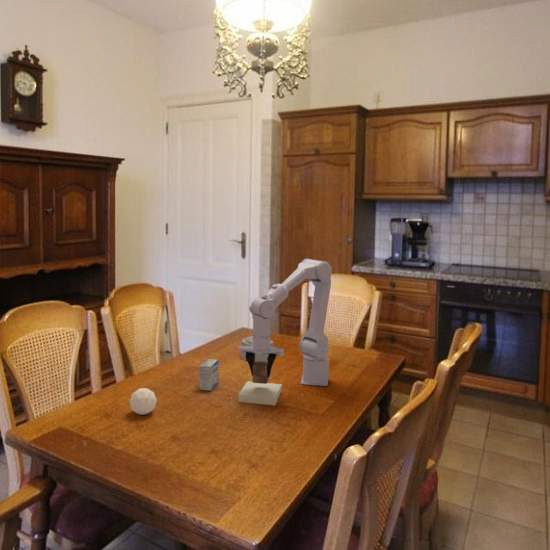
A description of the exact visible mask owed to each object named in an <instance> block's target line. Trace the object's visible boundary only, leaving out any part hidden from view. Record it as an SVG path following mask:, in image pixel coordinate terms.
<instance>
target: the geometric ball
mask: <svg viewBox="0 0 550 550" xmlns="http://www.w3.org/2000/svg"><path fill="white" fill-rule="evenodd" d="M157 401H158V399H157V397H156V393H155V392H154V391H152V390H150V389H149V388H148V387H147V388H145V387H141V388H138V389H136V391H134V392H133V393H131V396H130V399H129V405H130V409H131V410H132V411H133V412H134V413H136V414H138V415H142V416H143V415H148V414H149V413H150V412H152V411H153V410H154V409H155V408H156V404H157Z"/></svg>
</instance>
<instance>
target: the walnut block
mask: <svg viewBox="0 0 550 550" xmlns="http://www.w3.org/2000/svg"><path fill="white" fill-rule="evenodd" d="M267 370H268V361H255V363H254V364H253V376H252V382H253V383H262V384H267V383H269V380H270V379H269V378H270V377H267Z"/></svg>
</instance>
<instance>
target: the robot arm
mask: <svg viewBox="0 0 550 550" xmlns="http://www.w3.org/2000/svg"><path fill="white" fill-rule="evenodd" d="M297 265H298V266H297V268H296V269H295V270H294V271H293V272H292V273H291V274H290V275H289V276H288V277H287V278H286V279H285V280H284V281H283V282H282V283H275V284H272V286H271V287H270V289H269V290H267V291H266V292H265V293H263V294H261V297H256V298H255V299H253V301H251V303H250V306H249V312H250V313H251V315H252V316H251V319H252V336H253V346H242V345H240V346H239V347H238V353H239V354H241V353H246V356H245V357H246V360H247V361H246V360H245V361H246V362H247V363H248V367H249V369H250V373H251V376H252V377H253V364H254V363H255V354H268V355H269V356H268V357H267V360H268V370H267V377H269V378H270V376H271V374H272V373H271V371H272V368H273V365H274V362H275V360H276V358H277V356H280V357H284V354H285V349H284V348H279V347H275V346H273V347H270V340H271V328H272V327H271V326H272V324H271V322H272V321H271V319H272V316H273V315H274V314H275V312H276V310H277V307H278V306H279V305H280V304H282V303H283V302H284V301H285V300H286V299H287V298H288V297H289V292H290V291H292V290H293V289H294V288H295V287H297V286H298V285H300V283H302V282H304V281H305V280H309V281H311V283H312V284H313V286H314V290H313V297H312V298H313V299H312V304H311V311H310V317H309V324H308V329H307V330H306V331H304V332H303V333H302V338H301V340H300V341H299V346H298V348H299V351H300V353H301V354H302V357H303V360H302V363H303V364H302V376H301V380H300V384H301V385H306V386H307V385H309V386H321V387H324V386H325V387H328V385H329V380H330V371H329V370H330V359H329V358H327V356H328V354H329V351H330V347H329V338H328V337H327V335H326V334H325V324H326V318H327V313H328V307H329V306H328V305H329V299H330V294H331V293H330V292H331V286H332V279H331V278H332V273H333V268H332V266H331V265H330V263H328V261H325V260H317V259H310V258H304V259H303V260H302V261H301V262H299V263H298V264H297Z"/></svg>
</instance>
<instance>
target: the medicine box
mask: <svg viewBox="0 0 550 550" xmlns="http://www.w3.org/2000/svg"><path fill="white" fill-rule="evenodd" d="M219 361H220V360H219V359H214V358H213V359H212V358H207V359H206V360H205V361H203V363H201V364H200V365H199V366H198V371H199V372H198V373H199V375H198V377H199V378H198V379H199V390H200V391H209V392H212V391H213V390H214V389H215V387H216V386H217V385H218V384H219V381H220V379H219V378H220V377H219V376H220V375H219V371H220V370H219V368H220V367H219ZM213 388H214V389H213Z"/></svg>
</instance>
